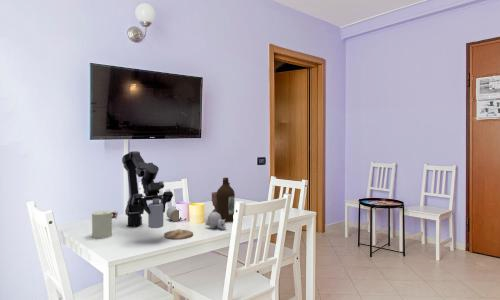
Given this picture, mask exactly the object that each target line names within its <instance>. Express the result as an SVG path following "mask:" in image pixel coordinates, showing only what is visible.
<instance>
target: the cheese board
mask: <svg viewBox="0 0 500 300" xmlns="http://www.w3.org/2000/svg"><path fill="white" fill-rule="evenodd" d="M163 235H164V236H163V237H164V238H165V239H169V240H184V239H190V238H191V237H193V236H194V232H193V231H191V230H188V229H187V230H186V229H180V228H178V229H176V230H169V231H167V232H164V234H163Z"/></svg>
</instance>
